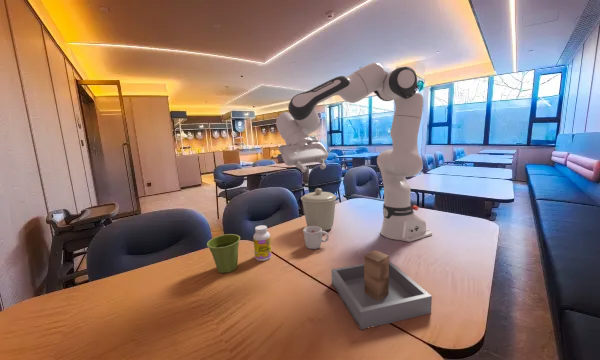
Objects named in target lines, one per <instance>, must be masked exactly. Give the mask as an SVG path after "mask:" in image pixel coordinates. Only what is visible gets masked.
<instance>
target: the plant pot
mask: <svg viewBox="0 0 600 360" xmlns="http://www.w3.org/2000/svg"><path fill="white" fill-rule="evenodd" d="M240 240H241V236H240V235H238V234H234V233H228V234H227V233H226V234H222V235H217V236H215V237H213V238H211V239H209V240H208V241H207V243H206V246H207V247H208V248H209V251H210V253H211V255H212V258H213V261H214V263H215V264H214V265H215V266H216V269H217V272H219V273H221V274H224V273H231V272H233V271H235V270H236V269H237V267H238V261H239V260H238V258H239V257H238V256H239V247H240V246H239V245H240Z"/></svg>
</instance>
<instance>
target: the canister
mask: <svg viewBox="0 0 600 360" xmlns="http://www.w3.org/2000/svg"><path fill="white" fill-rule="evenodd" d="M337 197H338V196H337V195H335V194H334V193H332V192H330V191H323V189H322V188H319V187H317V188H315V190H314V191H313V192H308V193H306V194H304V195H302V196H301V197H300V200H301V201H302V205H303V207H302V208H303V212H304V218H305V222H306V227H309V226H318V227H320V228H321V229H322V231H326V232H327V231H329V230H330V229H332V228H333V226H334V221H335V212H336V199H337Z"/></svg>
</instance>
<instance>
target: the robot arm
mask: <svg viewBox="0 0 600 360" xmlns="http://www.w3.org/2000/svg"><path fill="white" fill-rule="evenodd" d="M418 88H419V86H418V76H417V73H416V71H415V70H414V68H412V67H410V66H400V67H396V68H395V69H394V70H392V71H390V72H387V71H386V70H385V68H384V67H383V66H382V65H381V63H378V62H371V63H368V64H367V65H364V66H362V67H361V68H359V69H357V70H355V71H354V72H352V73H350V74H349V75H346V76H344V75H340V76H337V77H334V78H332V79H329V80H328V81H325V82H324V83H321V84H319V85H317V86H315V87H313V88H311V89H309V90H307V91H303V92H300V93H297V94H295V95H294V96H293V97H292V98H291V99H290V101H289V103H288V108H287V109H288V111H284V112H281V113H280V114H279V115H278V116H277V118H276V122H275V125H276V129H277V131H278V133H279V135H280V137H281V138H282V140H284V142H285V144H284V145H283V144H282V145H280V146H279V147H278V151H279V153H280V154H281V155H280V156H281V158H282V160H283V163H284V164H285V166H287V167H292V166H295V167H296V168H297V169H298V170H300V171H301V172H302V173H307V171H308V168H307V166H306V165H307V164H311V163H312V164H313V163H318V164H320V165H319V168H320V170H325V169H326V168H327V165H326V163H325V161H326V160H327V159H328V158H329V152H328V150H327V149H326V148H325V146H324V145H323V143H321V142H320V139H319V138H318V137H316V136H312V135H310V134H312V133H314V132H315V131H317V130H318V129H319V127H320V125H321V119H320V116H319V114H318V111H317V109H316V107H317V106H318V105H319V104H320V103H322V102H324V101H327V100H328V99H330V98H332V97H335V96H339V97H341V99H342V100H343V101H346V102H347V103H351V104H354V103H357V102H360V101H362V100H363V99H365V98H366V97H367V96H369V95H371V94H372V93H374V94H375V95H376V96H377V98H378V99H379V100H381V101H384V102H392V101H394V105H395V108H394V109H395V110H394V113H393V119H392V123H391V128H390V132H389V133H390V138H391V139H392V149H391V148H390V149H387V150H383V151H382V152H380V153H378V156H377V157H376V164H377V166H378V168H379V171H380V175H381V178H382V183H383V184H382V185H383V199H384V200H383V201H384V203H383V204H382V212H383V221H382V225H381V229H380V234H381V236H383V237H385V238H387V239H391V240H397V241H404V242H408V243H409V242H414V241H417V240H420V239H423V238H427V237H430V236H433V232H432V230H430V229H429V228H427V224H426V221H425V220H424V218H422V217H421V216H419V215H418V214H416V213H415V212H414V211H418V210H419V206H417V205H413V204H411V193H412V192H411V186H410V184H409V183H408V180H407V178H410V177H414V176H415V177H416V175H419V173H420V172H421V171H422V168H423V159H422V157H421V156H420V153H419V149H418V147H419V146H418V136H419V130H420V126H421V122H422V121H421V120H422V117H423V111H424V109H423V107H424V96H423V95H422V94H421V93H420V92H418ZM305 164H306V165H305Z"/></svg>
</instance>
